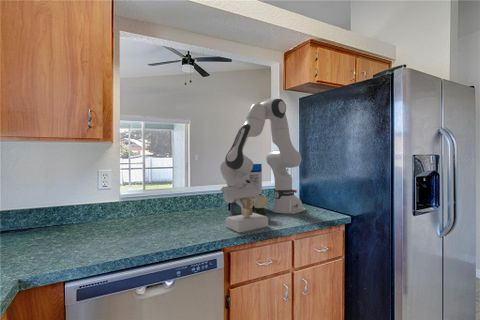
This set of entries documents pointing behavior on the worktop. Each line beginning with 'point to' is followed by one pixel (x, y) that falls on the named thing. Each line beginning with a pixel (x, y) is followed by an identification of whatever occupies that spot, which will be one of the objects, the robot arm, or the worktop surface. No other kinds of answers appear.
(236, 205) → the flask
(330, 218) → the worktop surface
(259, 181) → the protein powder
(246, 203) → the maple block
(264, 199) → the character mug
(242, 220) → the grey box
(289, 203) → the robot arm
